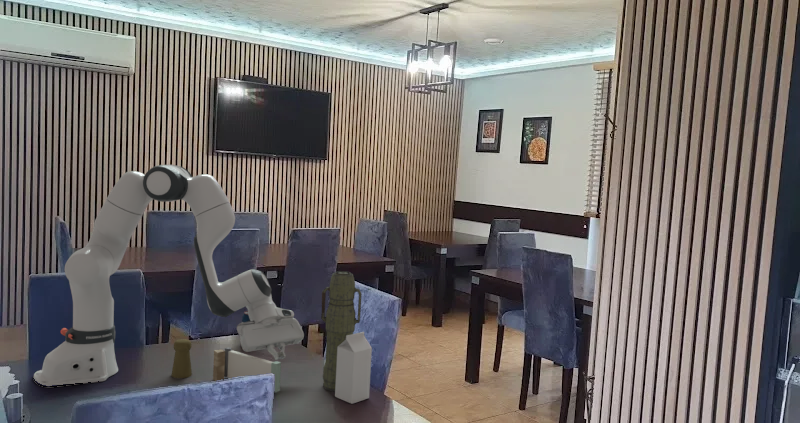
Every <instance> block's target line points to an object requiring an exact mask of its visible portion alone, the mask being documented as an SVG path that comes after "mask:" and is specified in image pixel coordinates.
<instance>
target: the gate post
mask: <svg viewBox="0 0 800 423" xmlns="http://www.w3.org/2000/svg"><path fill="white" fill-rule="evenodd" d="M224 367H225V349H224V350H223V349H214V350H213V370H212V380H213V381H215V382H216V380H221V379H224V380H225V377H224Z"/></svg>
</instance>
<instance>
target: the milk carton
mask: <svg viewBox="0 0 800 423" xmlns="http://www.w3.org/2000/svg"><path fill="white" fill-rule="evenodd" d="M372 352H373V348H372V346H371V344H370V343H369V341H368V340H367V338H366V336H365V331H361V332H357V333H356V332H355V333H353V334H352V335H347V336H346V340H345V341H344V342H342V343H341V344H340V345H339V346H338V347H337V366H336V385H335V391H334V397H335V398H337V399H339V400H342V401H344V402H346V403H349V404H352V405H353V404H355V403H358V402H361V401H365V400H367V399H369V398H370V388H371V370H372V369H371V367H372Z"/></svg>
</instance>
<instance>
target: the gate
mask: <svg viewBox="0 0 800 423" xmlns="http://www.w3.org/2000/svg"><path fill="white" fill-rule="evenodd" d="M224 351H225V367H224V378H228V379H232V377H237V376H245V375H257V374H266V373H273V374H275V392H274V393H277V392H280V391H281V374H282V373H281V371H282V370H281V368H282V362H281V361H279V360H274V361H271V360H268V359H264V358H261V357H257V356H254V355H250V354H246V353H243V352H240V351H236V350H232V347H224Z"/></svg>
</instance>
